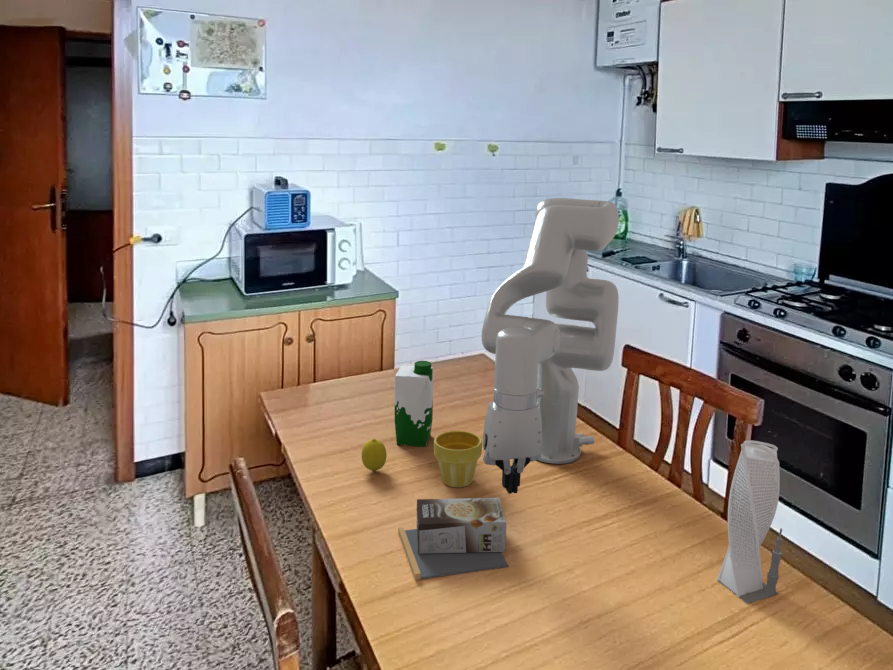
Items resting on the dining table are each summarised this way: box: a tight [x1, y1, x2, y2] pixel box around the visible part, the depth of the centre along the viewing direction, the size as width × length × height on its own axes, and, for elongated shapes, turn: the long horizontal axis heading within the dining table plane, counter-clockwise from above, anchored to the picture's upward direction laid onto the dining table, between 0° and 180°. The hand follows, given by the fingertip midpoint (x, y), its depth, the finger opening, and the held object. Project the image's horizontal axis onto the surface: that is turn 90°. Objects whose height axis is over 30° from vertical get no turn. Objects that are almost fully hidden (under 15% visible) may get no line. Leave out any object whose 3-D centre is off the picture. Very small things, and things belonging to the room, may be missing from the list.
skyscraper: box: [716, 439, 783, 605], centre depth 122 cm, size 8×8×28 cm
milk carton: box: [394, 360, 434, 448], centre depth 177 cm, size 9×9×20 cm
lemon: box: [361, 438, 388, 473], centre depth 162 cm, size 6×6×8 cm
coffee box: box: [416, 497, 507, 554], centre depth 137 cm, size 9×6×16 cm
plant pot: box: [433, 430, 483, 488], centre depth 159 cm, size 10×10×10 cm
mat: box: [397, 526, 509, 581], centre depth 135 cm, size 17×15×1 cm
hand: (510, 489), depth 135 cm, fingers closed
